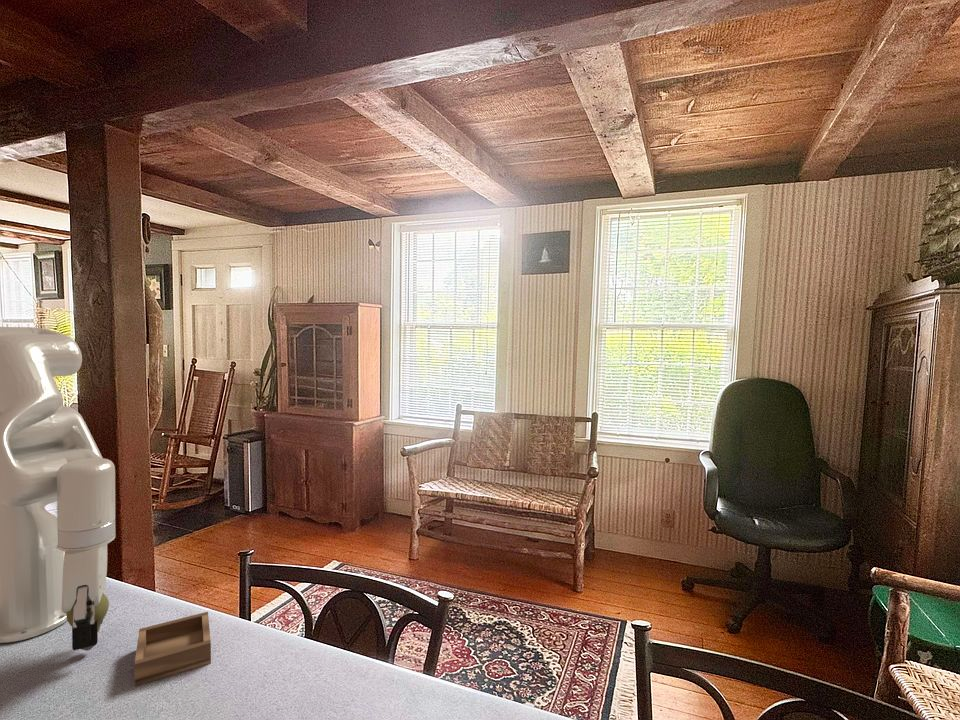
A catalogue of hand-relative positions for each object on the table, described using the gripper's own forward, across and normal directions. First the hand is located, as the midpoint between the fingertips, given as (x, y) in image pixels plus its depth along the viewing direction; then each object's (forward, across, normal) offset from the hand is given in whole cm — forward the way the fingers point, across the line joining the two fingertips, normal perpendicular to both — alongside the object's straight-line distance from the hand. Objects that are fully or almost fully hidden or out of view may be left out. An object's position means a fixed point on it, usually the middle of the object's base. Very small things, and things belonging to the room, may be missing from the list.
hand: (88, 635), depth 82 cm
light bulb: (+3, 0, 0) cm, 3 cm away
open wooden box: (+3, +8, +13) cm, 15 cm away
